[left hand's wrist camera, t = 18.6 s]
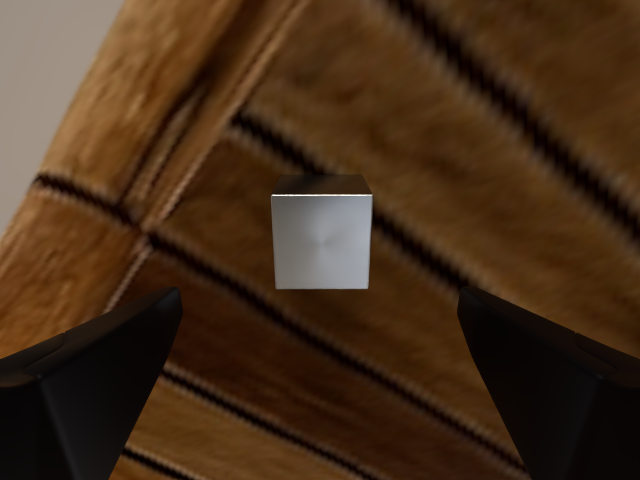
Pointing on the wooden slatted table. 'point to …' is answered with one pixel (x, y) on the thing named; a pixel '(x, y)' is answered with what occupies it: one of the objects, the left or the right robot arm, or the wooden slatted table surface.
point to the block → (321, 231)
